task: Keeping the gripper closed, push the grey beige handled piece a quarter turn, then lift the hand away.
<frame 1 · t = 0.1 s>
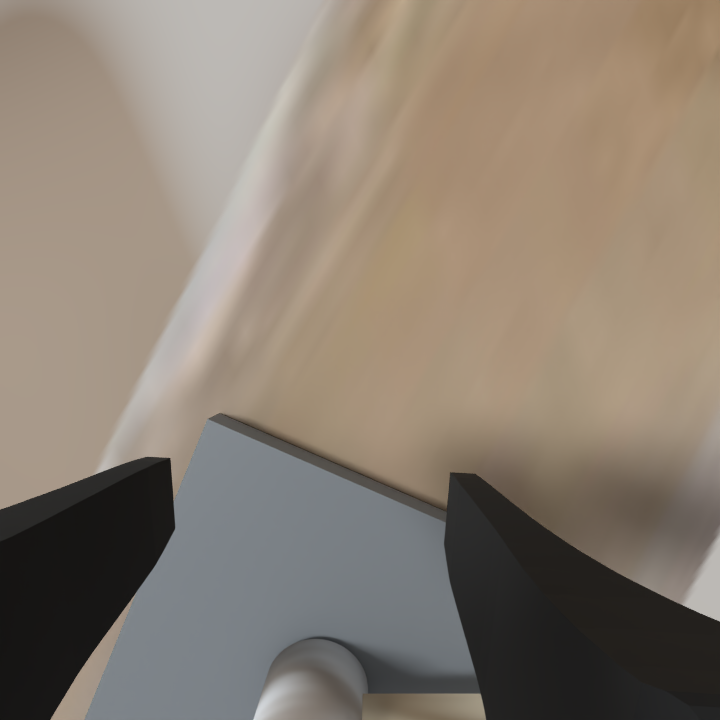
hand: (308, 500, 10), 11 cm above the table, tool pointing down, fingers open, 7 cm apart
latch plate: (321, 658, 22), on the table
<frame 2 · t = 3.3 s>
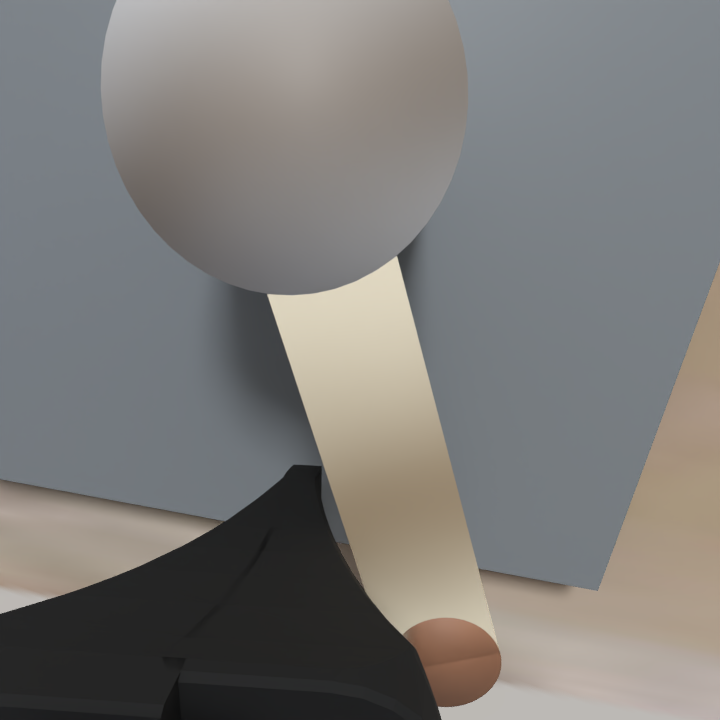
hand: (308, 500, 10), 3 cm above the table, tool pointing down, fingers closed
grey beige handled piece: (366, 354, 8), point 4 cm above the table, hinge at 1.3°, touching gripper
latch plate: (331, 192, 12), on the table
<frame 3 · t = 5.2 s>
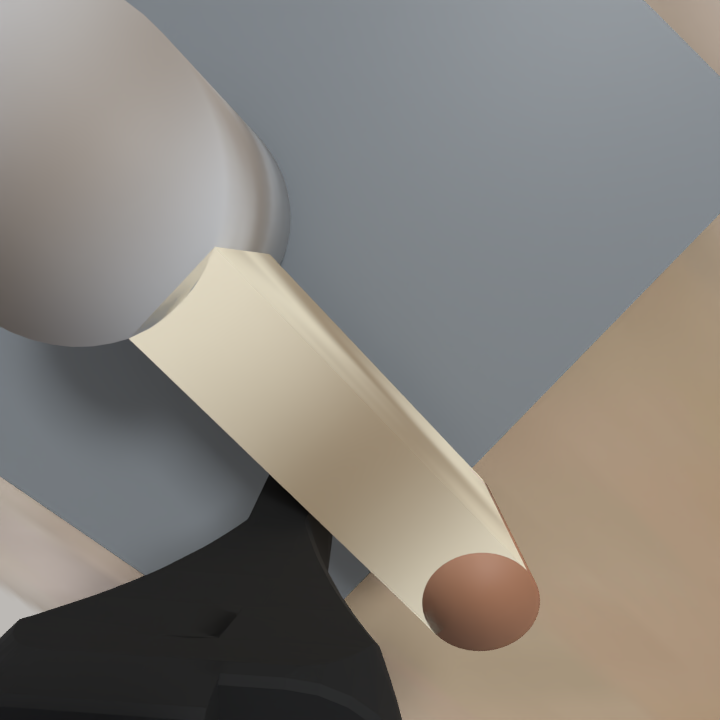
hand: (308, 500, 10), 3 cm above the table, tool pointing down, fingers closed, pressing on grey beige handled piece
grey beige handled piece: (284, 348, 8), point 4 cm above the table, hinge at 57.1°, touching gripper
latch plate: (218, 222, 12), on the table
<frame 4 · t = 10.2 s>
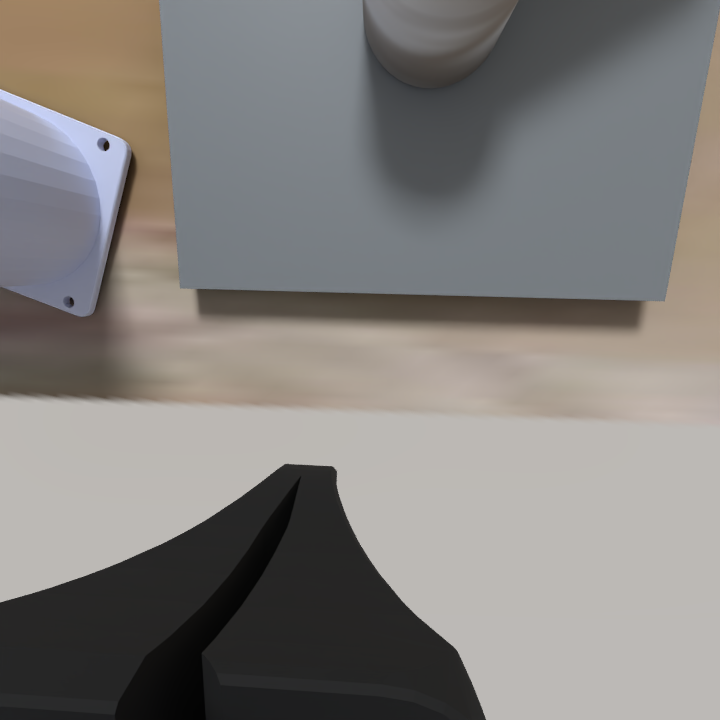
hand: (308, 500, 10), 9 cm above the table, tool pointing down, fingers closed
latch plate: (427, 37, 16), on the table
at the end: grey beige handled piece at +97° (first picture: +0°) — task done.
